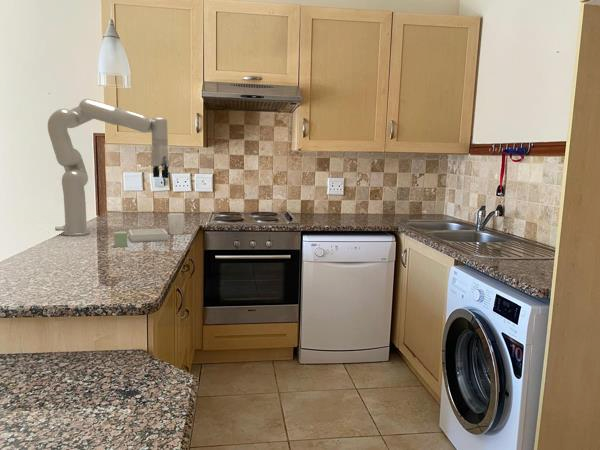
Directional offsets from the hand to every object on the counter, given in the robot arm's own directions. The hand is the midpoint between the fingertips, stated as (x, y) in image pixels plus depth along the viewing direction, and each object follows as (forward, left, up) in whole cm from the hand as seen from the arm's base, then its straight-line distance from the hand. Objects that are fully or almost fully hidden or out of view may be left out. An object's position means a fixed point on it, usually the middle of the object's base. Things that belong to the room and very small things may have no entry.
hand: (160, 177), depth 243 cm
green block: (-22, -32, -28) cm, 48 cm away
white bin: (-9, -17, -28) cm, 34 cm away
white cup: (+6, -6, -28) cm, 30 cm away
